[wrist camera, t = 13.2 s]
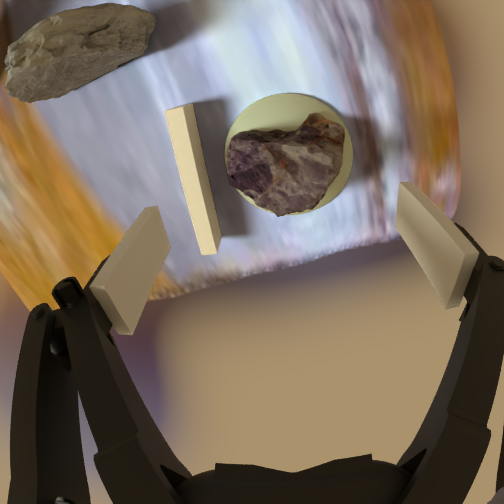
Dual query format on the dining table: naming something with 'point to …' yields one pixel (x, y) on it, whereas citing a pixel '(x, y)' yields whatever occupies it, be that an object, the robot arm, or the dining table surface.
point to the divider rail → (194, 176)
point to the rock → (287, 164)
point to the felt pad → (289, 119)
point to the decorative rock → (75, 49)
